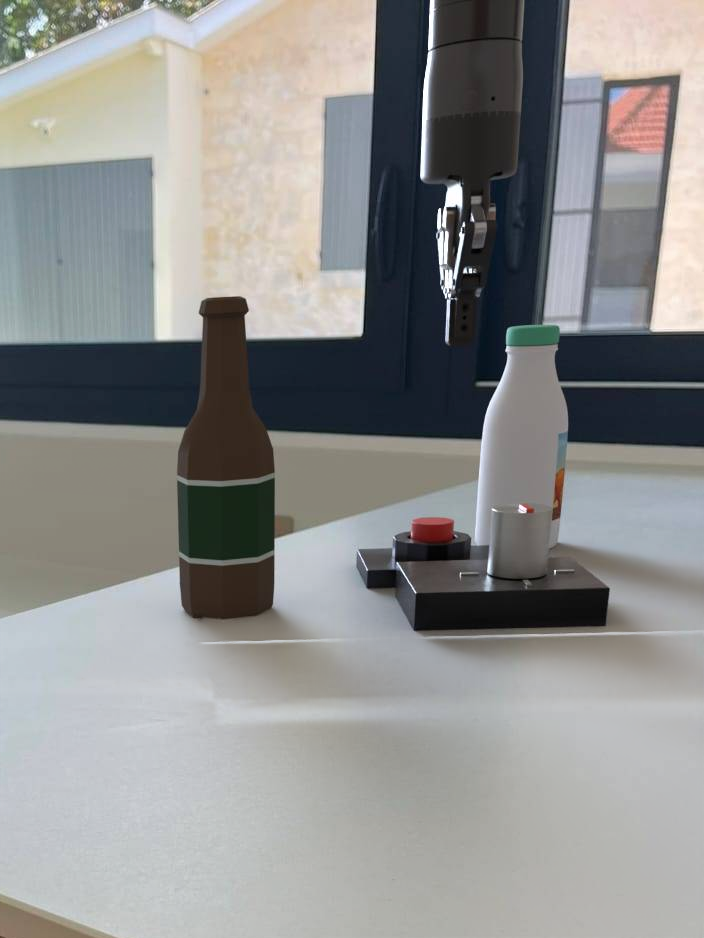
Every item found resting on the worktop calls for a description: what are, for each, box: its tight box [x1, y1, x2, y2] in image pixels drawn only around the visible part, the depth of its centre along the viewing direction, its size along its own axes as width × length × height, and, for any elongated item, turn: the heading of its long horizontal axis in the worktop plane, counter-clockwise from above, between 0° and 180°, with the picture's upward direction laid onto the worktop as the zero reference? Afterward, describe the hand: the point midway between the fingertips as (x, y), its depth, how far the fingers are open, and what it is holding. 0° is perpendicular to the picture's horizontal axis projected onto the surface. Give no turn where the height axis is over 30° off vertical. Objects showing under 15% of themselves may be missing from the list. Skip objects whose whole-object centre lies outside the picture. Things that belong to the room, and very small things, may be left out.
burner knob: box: [487, 503, 553, 579], centre depth 94 cm, size 4×4×5 cm
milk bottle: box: [474, 324, 569, 550], centre depth 115 cm, size 8×8×20 cm
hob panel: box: [394, 556, 611, 632], centre depth 96 cm, size 14×11×3 cm
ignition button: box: [410, 516, 455, 542], centre depth 107 cm, size 4×4×2 cm
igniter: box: [355, 530, 489, 590], centre depth 108 cm, size 12×9×4 cm
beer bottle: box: [176, 295, 276, 620], centre depth 97 cm, size 8×8×24 cm
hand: (459, 345), depth 104 cm, fingers closed
